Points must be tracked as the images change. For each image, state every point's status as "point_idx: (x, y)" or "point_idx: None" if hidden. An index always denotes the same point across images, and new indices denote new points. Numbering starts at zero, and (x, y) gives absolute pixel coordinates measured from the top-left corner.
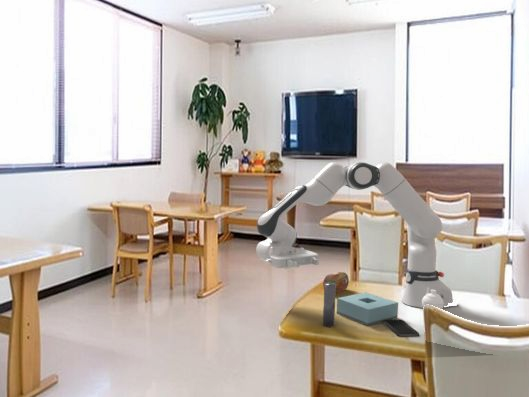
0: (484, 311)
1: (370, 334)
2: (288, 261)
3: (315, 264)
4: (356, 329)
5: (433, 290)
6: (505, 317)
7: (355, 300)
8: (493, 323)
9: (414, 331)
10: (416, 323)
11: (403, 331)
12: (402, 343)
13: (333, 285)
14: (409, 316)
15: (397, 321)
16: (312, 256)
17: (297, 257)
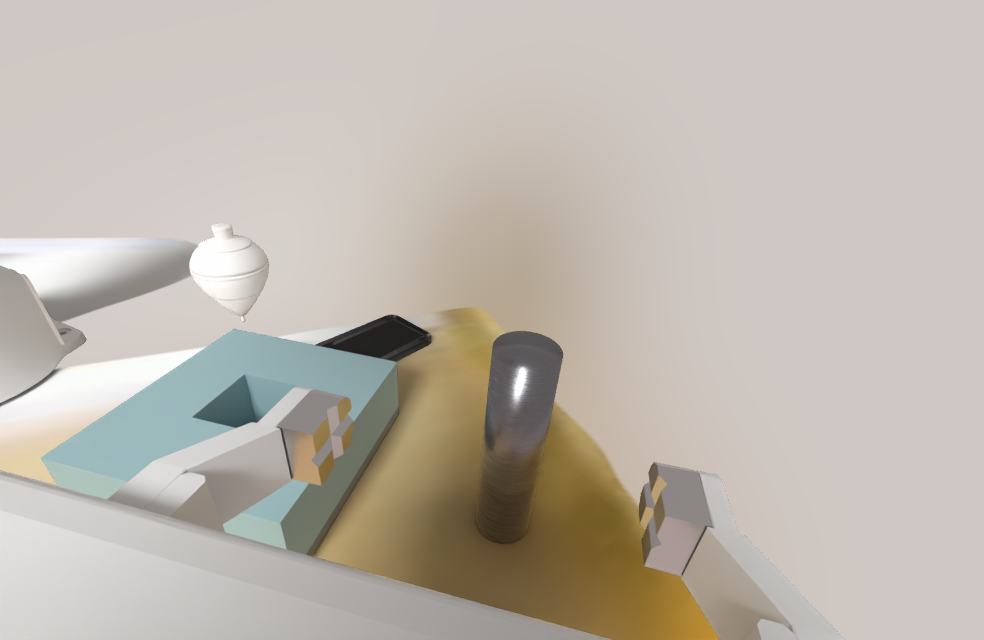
0: (72, 272)
1: (472, 385)
2: (833, 635)
3: (351, 435)
4: (462, 425)
5: (228, 224)
6: (129, 251)
7: None
8: None
9: (376, 324)
10: None
11: (395, 337)
12: (472, 328)
13: (535, 334)
14: None
15: None
16: (100, 501)
17: (503, 612)
